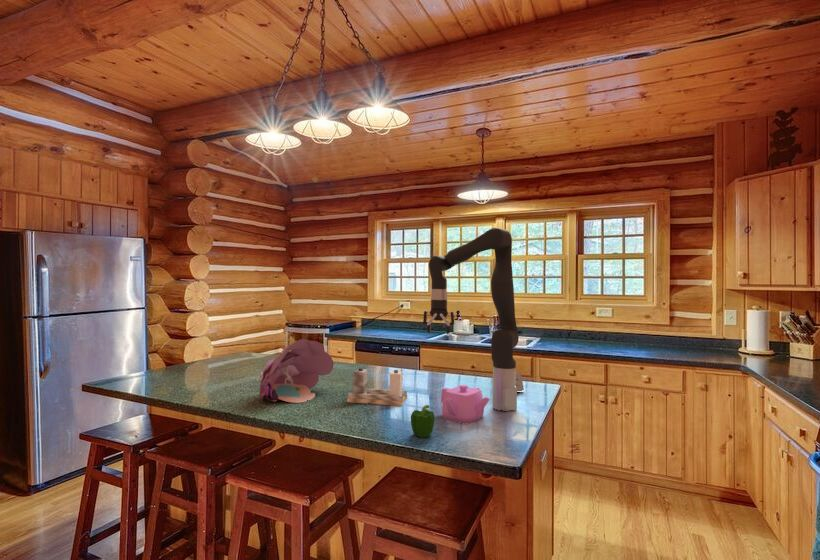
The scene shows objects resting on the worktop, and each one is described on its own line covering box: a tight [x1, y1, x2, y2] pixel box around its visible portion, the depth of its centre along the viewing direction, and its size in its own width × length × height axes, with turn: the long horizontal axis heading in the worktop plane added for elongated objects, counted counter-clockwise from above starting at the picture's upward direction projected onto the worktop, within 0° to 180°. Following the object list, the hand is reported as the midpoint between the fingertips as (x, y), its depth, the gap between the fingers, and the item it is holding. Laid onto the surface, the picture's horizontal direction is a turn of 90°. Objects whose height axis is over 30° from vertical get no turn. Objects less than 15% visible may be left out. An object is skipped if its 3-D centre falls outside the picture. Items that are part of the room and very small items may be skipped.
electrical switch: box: [516, 371, 525, 391], centre depth 205 cm, size 9×5×9 cm, turn 116°
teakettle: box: [440, 384, 490, 425], centre depth 166 cm, size 17×17×12 cm
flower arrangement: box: [259, 338, 334, 404], centre depth 191 cm, size 35×24×28 cm
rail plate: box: [346, 367, 408, 407], centre depth 188 cm, size 24×12×14 cm, turn 80°
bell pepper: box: [410, 404, 435, 438], centre depth 146 cm, size 8×8×10 cm
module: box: [388, 369, 404, 396], centre depth 187 cm, size 4×6×12 cm
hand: (438, 333), depth 200 cm, fingers open, 8 cm apart
